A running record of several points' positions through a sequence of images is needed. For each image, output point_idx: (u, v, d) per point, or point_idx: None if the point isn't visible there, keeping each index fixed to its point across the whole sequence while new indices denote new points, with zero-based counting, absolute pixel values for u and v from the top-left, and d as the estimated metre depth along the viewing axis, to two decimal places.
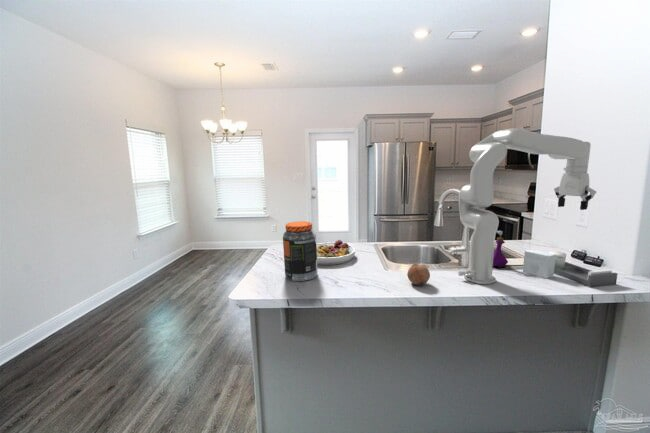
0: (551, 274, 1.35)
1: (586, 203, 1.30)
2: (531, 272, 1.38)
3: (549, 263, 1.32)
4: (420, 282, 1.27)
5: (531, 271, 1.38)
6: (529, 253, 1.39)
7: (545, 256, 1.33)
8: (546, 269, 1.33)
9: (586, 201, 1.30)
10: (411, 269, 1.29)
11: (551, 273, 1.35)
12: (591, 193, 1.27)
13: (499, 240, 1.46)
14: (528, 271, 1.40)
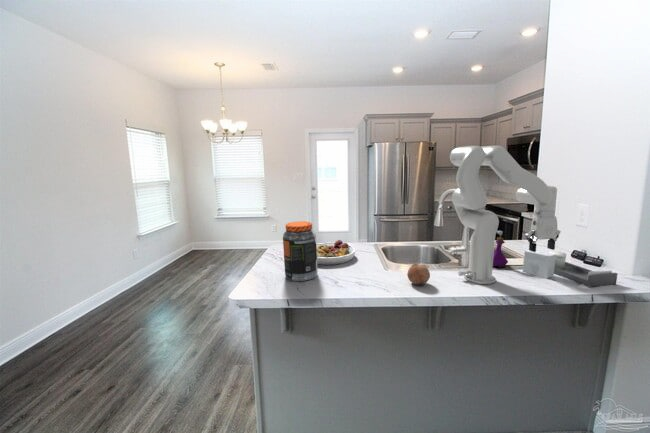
0: (551, 274, 1.35)
1: None
2: (531, 272, 1.38)
3: (549, 263, 1.32)
4: (420, 282, 1.27)
5: (531, 271, 1.38)
6: (529, 253, 1.39)
7: (545, 256, 1.33)
8: (546, 269, 1.33)
9: None
10: (411, 269, 1.29)
11: (551, 273, 1.35)
12: (558, 233, 1.36)
13: (499, 240, 1.46)
14: (528, 271, 1.40)
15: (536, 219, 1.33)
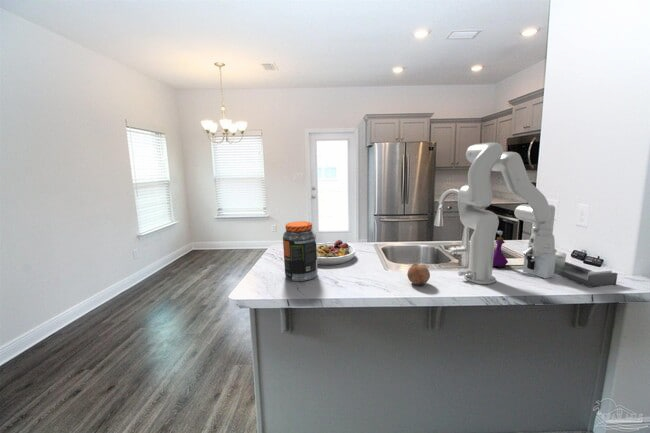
0: (551, 274, 1.35)
1: None
2: (531, 272, 1.38)
3: (549, 263, 1.32)
4: (420, 282, 1.27)
5: (531, 271, 1.38)
6: None
7: (545, 256, 1.33)
8: (546, 269, 1.33)
9: None
10: (411, 269, 1.29)
11: (551, 273, 1.34)
12: (554, 252, 1.38)
13: (499, 240, 1.46)
14: (528, 271, 1.40)
15: (534, 237, 1.35)
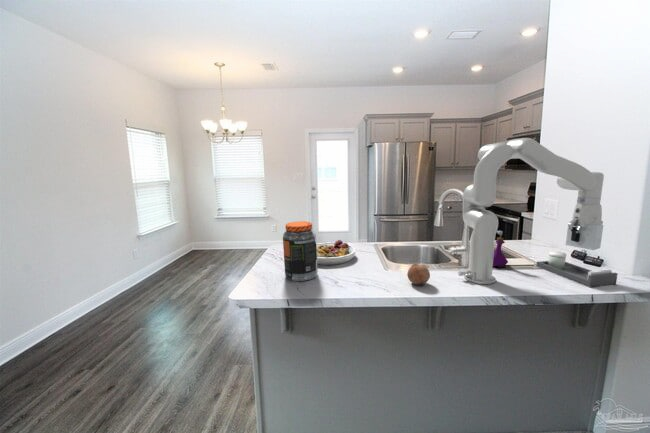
0: (598, 246, 1.27)
1: None
2: (576, 244, 1.31)
3: (597, 234, 1.25)
4: (420, 282, 1.27)
5: (576, 243, 1.31)
6: None
7: (592, 226, 1.25)
8: (593, 240, 1.26)
9: None
10: (411, 269, 1.29)
11: (598, 245, 1.27)
12: (600, 223, 1.30)
13: (499, 240, 1.46)
14: (572, 244, 1.32)
15: (580, 206, 1.27)
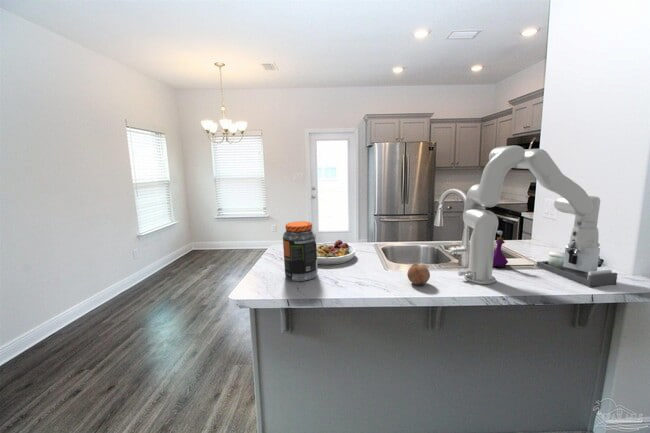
0: (595, 269, 1.29)
1: None
2: (573, 267, 1.33)
3: (594, 257, 1.27)
4: (420, 282, 1.27)
5: (573, 265, 1.33)
6: None
7: (589, 250, 1.27)
8: (590, 263, 1.27)
9: None
10: (411, 269, 1.29)
11: (595, 268, 1.29)
12: (597, 246, 1.32)
13: (499, 240, 1.46)
14: (569, 266, 1.34)
15: (577, 230, 1.29)
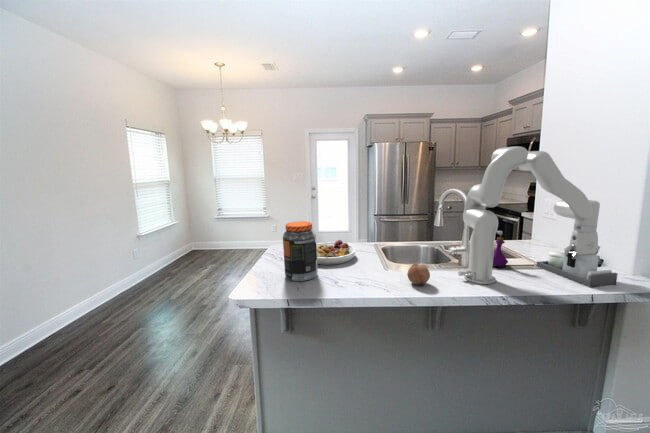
0: None
1: None
2: (571, 273, 1.34)
3: (592, 265, 1.28)
4: (420, 282, 1.27)
5: (572, 272, 1.34)
6: None
7: (587, 257, 1.28)
8: (588, 271, 1.28)
9: None
10: (411, 269, 1.29)
11: None
12: (597, 248, 1.33)
13: (499, 240, 1.46)
14: (568, 272, 1.35)
15: (576, 234, 1.29)
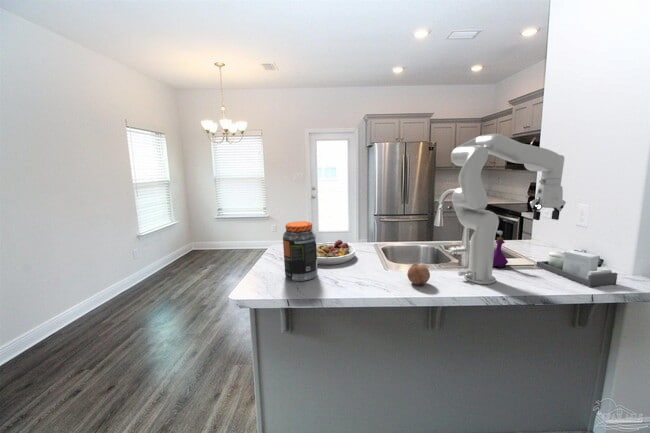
0: None
1: None
2: (571, 273, 1.34)
3: (592, 265, 1.28)
4: (420, 282, 1.27)
5: (572, 272, 1.34)
6: (569, 254, 1.34)
7: (587, 257, 1.28)
8: (588, 271, 1.28)
9: None
10: (411, 269, 1.29)
11: None
12: (563, 203, 1.37)
13: (499, 240, 1.46)
14: (568, 272, 1.35)
15: (542, 187, 1.34)
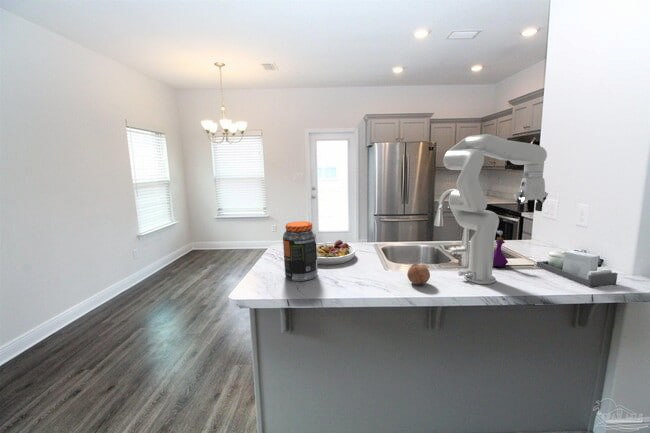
0: None
1: None
2: (571, 273, 1.34)
3: (592, 265, 1.28)
4: (420, 282, 1.27)
5: (572, 272, 1.34)
6: (569, 254, 1.34)
7: (587, 257, 1.28)
8: (588, 271, 1.28)
9: None
10: (411, 269, 1.29)
11: None
12: (546, 195, 1.41)
13: (499, 240, 1.46)
14: (568, 272, 1.35)
15: (525, 180, 1.38)
